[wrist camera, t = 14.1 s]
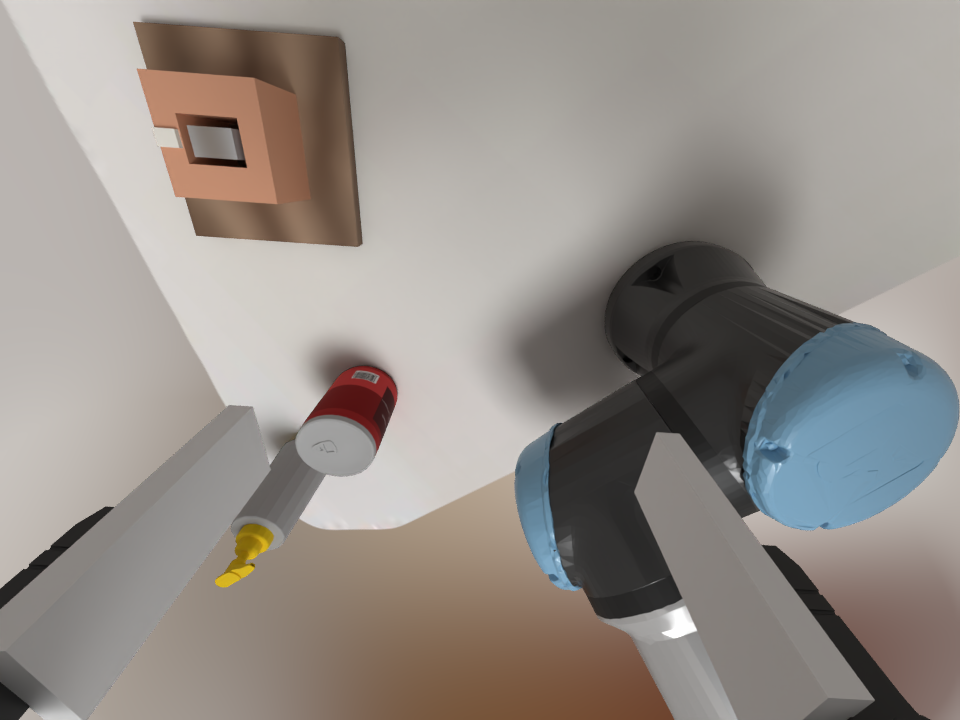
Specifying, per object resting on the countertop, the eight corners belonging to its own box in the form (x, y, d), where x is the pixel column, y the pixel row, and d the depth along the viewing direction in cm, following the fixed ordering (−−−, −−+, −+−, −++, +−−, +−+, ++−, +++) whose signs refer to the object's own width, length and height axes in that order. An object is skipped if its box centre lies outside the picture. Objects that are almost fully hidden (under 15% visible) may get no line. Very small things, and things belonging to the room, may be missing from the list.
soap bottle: (345, 456, 50) (279, 586, 35) (311, 476, 52) (235, 608, 37) (308, 424, 48) (219, 548, 32) (275, 446, 50) (175, 574, 34)
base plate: (344, 43, 29) (302, 5, 23) (362, 244, 37) (334, 259, 30) (149, 28, 29) (48, -14, 22) (206, 233, 37) (144, 246, 30)
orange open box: (295, 94, 30) (250, 76, 24) (310, 199, 33) (274, 204, 28) (199, 87, 30) (131, 67, 24) (225, 192, 33) (171, 197, 28)
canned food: (323, 377, 44) (277, 435, 35) (377, 353, 43) (344, 407, 33) (358, 422, 48) (325, 486, 38) (410, 401, 46) (389, 463, 36)
